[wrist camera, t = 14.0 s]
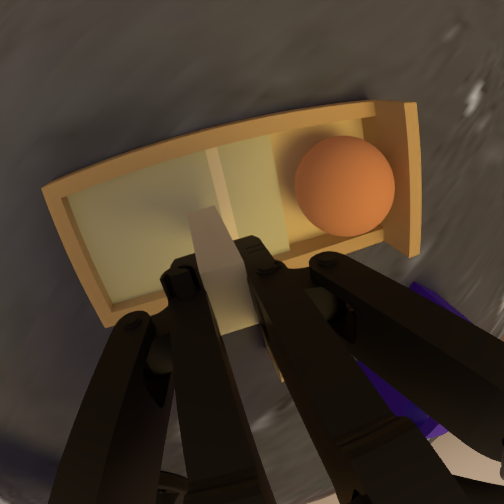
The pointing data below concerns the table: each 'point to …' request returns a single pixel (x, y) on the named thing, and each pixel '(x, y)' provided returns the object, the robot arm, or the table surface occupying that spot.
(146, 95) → the table surface
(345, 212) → the ball
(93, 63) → the table surface
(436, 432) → the bracket
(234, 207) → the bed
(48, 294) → the table surface
